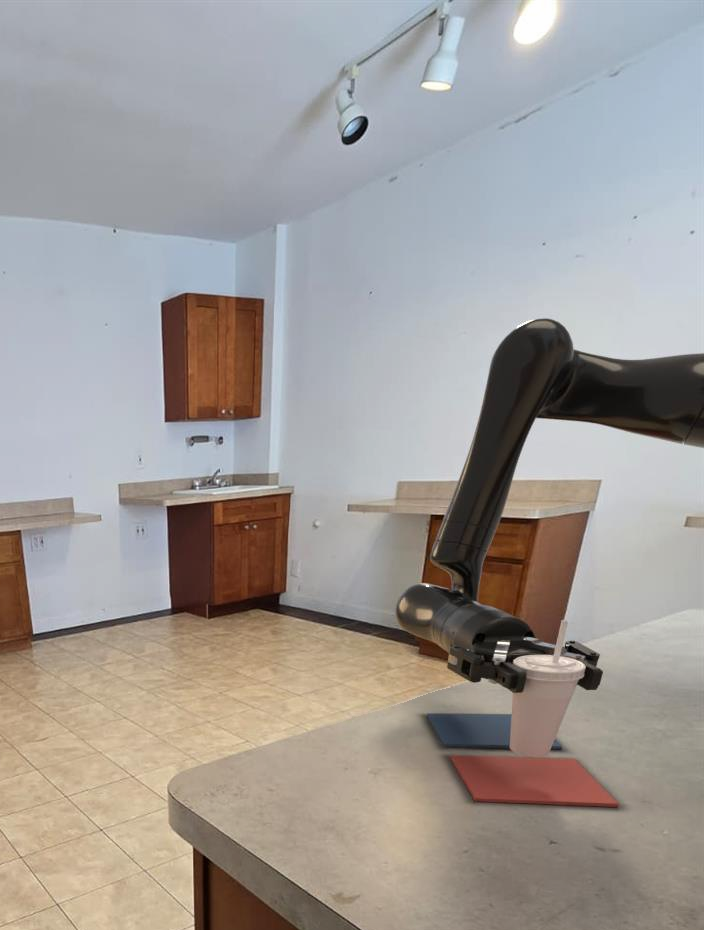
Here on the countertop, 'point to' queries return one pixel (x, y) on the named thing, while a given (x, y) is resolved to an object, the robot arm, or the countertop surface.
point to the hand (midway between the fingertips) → (558, 682)
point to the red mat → (530, 781)
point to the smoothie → (543, 699)
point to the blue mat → (474, 730)
